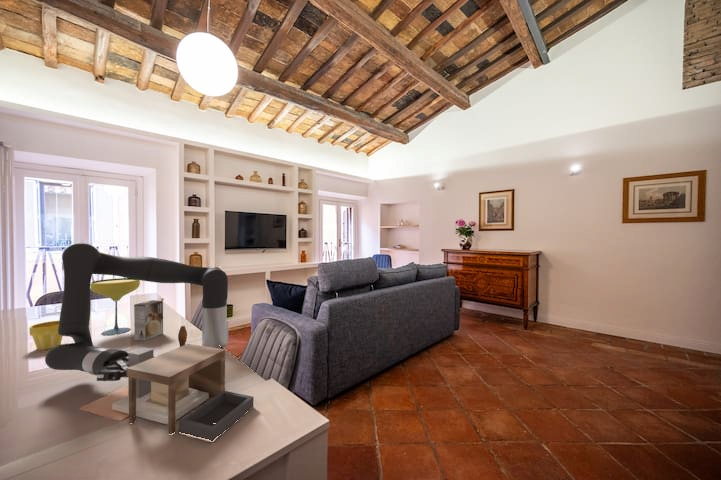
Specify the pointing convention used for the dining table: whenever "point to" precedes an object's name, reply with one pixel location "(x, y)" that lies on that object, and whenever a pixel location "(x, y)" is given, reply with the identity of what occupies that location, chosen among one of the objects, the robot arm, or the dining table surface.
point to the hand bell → (182, 336)
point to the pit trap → (216, 415)
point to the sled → (144, 395)
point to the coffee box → (148, 319)
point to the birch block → (161, 391)
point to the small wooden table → (180, 374)
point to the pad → (108, 405)
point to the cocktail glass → (115, 295)
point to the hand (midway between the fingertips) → (148, 370)
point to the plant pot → (46, 335)
